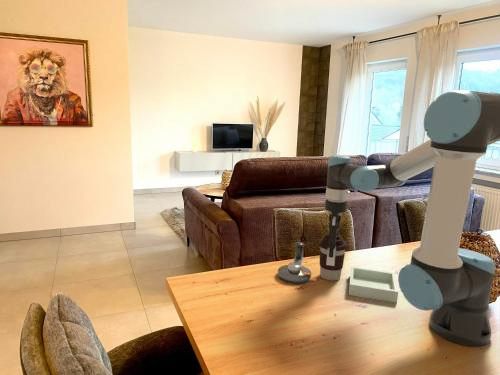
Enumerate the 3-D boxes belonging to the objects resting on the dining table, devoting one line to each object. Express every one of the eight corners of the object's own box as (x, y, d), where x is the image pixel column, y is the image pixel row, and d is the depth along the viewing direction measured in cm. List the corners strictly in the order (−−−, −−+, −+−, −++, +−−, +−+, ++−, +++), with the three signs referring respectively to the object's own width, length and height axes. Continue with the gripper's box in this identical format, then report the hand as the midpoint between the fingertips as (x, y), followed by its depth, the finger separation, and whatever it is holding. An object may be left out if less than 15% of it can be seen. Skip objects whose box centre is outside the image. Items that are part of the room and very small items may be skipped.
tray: (397, 302, 120) (398, 291, 119) (348, 295, 124) (349, 284, 123) (393, 282, 134) (394, 272, 133) (350, 276, 138) (351, 266, 137)
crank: (300, 274, 133) (301, 255, 131) (286, 272, 134) (287, 253, 132) (305, 260, 145) (307, 243, 144) (293, 258, 146) (294, 241, 145)
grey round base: (314, 287, 128) (314, 281, 128) (274, 280, 132) (274, 275, 132) (318, 273, 140) (318, 268, 139) (281, 267, 143) (281, 262, 143)
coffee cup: (312, 278, 135) (315, 239, 132) (321, 268, 143) (323, 231, 140) (340, 285, 130) (343, 244, 127) (346, 274, 139) (350, 236, 136)
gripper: (346, 208, 119) (340, 273, 124) (348, 194, 140) (343, 250, 145) (322, 206, 121) (317, 270, 126) (328, 192, 143) (324, 247, 147)
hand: (331, 259), depth 136 cm, fingers closed on coffee cup, 10 cm apart
